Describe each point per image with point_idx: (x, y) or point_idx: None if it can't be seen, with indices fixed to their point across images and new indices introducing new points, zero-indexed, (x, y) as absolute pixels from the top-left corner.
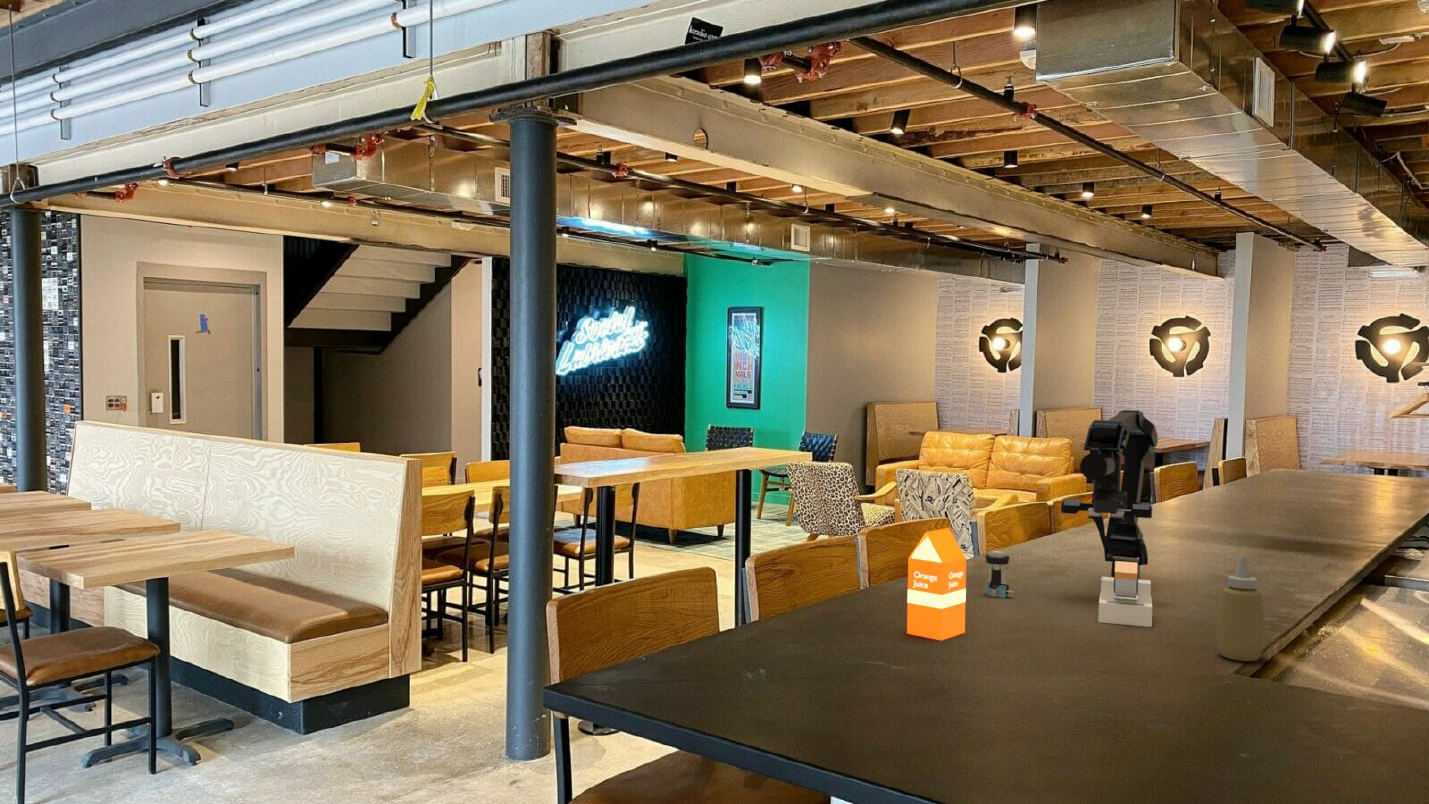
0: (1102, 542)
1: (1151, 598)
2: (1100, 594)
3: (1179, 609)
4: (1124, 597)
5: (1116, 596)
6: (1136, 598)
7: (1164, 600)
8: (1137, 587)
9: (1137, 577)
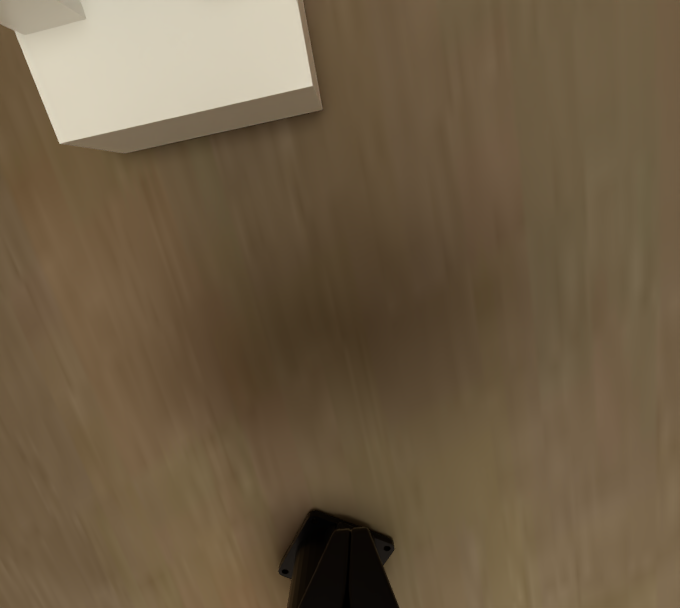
0: (376, 559)
1: (35, 82)
2: (296, 7)
3: (93, 339)
4: (155, 5)
5: (201, 6)
6: (92, 19)
7: (184, 450)
8: (295, 554)
9: (290, 589)
